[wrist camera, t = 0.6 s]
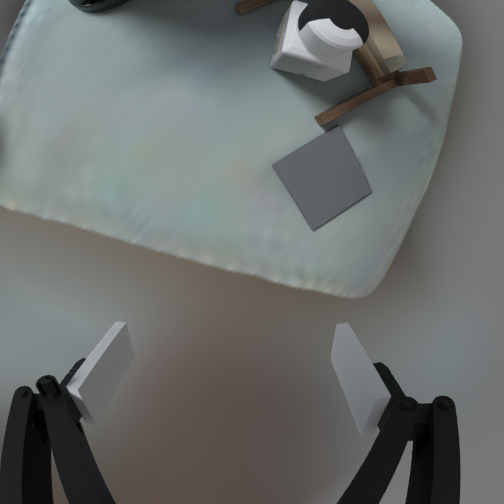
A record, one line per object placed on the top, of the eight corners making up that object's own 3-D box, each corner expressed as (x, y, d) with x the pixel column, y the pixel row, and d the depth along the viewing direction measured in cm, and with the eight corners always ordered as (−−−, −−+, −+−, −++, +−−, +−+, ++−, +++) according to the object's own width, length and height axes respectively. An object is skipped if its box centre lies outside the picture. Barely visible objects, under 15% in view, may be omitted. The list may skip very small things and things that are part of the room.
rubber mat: (271, 165, 34) (272, 165, 34) (338, 125, 33) (339, 125, 32) (311, 229, 39) (312, 230, 38) (370, 190, 37) (372, 191, 37)
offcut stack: (313, -9, 22) (324, -22, 18) (340, -15, 21) (353, -27, 17) (374, 78, 29) (392, 74, 24) (397, 68, 28) (415, 64, 24)
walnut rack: (233, 8, 24) (238, -20, 17) (330, -24, 22) (351, -46, 14) (319, 126, 33) (345, 126, 25) (403, 82, 30) (436, 78, 23)
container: (279, 21, 25) (307, -23, 14) (333, 37, 27) (380, 7, 15) (268, 68, 29) (295, 36, 17) (324, 83, 30) (374, 65, 18)
